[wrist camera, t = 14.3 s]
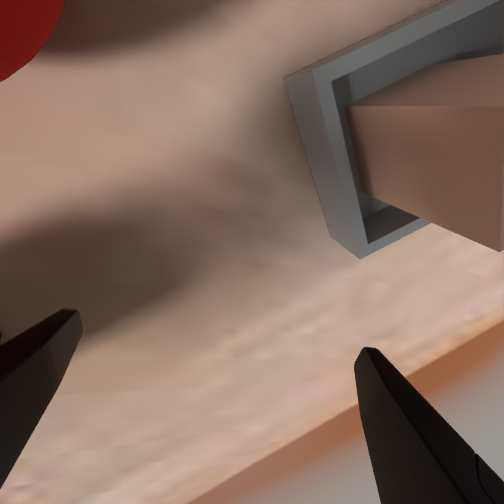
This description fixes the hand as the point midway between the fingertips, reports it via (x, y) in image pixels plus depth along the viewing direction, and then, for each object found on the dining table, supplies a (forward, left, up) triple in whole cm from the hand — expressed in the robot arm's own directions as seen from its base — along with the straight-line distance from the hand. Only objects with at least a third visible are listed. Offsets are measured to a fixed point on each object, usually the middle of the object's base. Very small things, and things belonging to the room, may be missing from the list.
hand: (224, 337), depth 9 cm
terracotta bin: (+11, -9, -11) cm, 18 cm away
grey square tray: (+11, -9, -12) cm, 19 cm away
